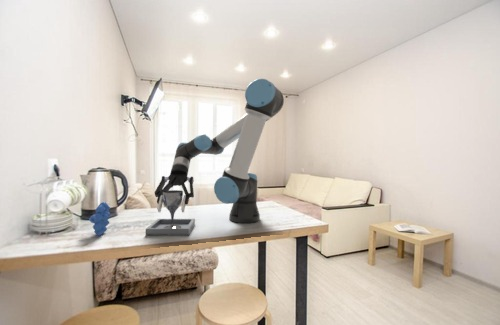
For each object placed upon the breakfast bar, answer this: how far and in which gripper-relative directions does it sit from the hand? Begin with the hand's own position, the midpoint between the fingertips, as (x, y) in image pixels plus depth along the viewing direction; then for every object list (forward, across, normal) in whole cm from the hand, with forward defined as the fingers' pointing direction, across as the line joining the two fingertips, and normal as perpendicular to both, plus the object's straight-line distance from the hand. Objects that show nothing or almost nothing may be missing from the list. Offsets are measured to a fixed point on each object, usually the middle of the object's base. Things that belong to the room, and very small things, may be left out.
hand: (170, 210), depth 90 cm
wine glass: (+3, 0, -8) cm, 9 cm away
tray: (+4, 0, -8) cm, 9 cm away
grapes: (+8, +26, -5) cm, 28 cm away
